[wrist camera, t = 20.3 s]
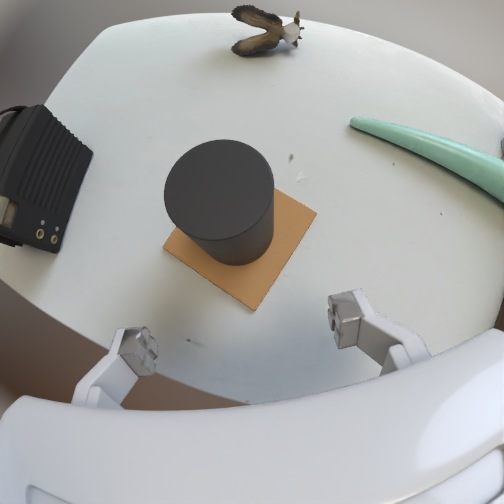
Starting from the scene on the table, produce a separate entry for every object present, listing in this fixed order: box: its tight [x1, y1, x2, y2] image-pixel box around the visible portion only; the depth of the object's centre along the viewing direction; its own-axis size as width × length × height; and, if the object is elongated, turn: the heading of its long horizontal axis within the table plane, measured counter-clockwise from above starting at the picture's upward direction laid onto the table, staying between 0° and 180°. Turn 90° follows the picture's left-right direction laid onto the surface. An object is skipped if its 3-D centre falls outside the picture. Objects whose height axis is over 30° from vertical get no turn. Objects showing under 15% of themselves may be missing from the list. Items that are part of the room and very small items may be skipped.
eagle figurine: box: [231, 5, 304, 55], centre depth 26 cm, size 8×7×9 cm
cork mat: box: [163, 188, 317, 311], centre depth 24 cm, size 10×10×1 cm
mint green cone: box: [350, 117, 504, 203], centre depth 21 cm, size 5×6×27 cm
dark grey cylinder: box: [164, 140, 274, 266], centre depth 20 cm, size 6×6×9 cm
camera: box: [0, 104, 93, 253], centre depth 20 cm, size 11×14×15 cm
